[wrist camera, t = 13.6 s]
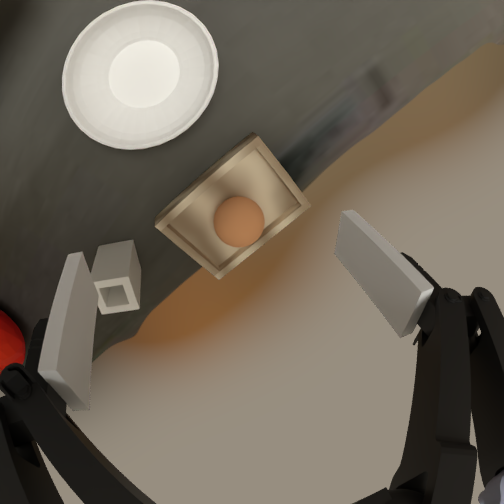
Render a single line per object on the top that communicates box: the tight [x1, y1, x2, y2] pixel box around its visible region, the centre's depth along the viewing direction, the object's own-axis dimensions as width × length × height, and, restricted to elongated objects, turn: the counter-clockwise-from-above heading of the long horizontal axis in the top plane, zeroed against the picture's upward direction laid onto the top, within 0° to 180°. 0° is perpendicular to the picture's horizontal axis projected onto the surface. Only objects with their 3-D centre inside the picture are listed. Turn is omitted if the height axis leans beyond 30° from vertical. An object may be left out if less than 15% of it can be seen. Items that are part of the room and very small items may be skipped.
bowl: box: [62, 0, 219, 150], centre depth 25 cm, size 14×14×8 cm
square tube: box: [91, 240, 141, 314], centre depth 36 cm, size 5×5×8 cm
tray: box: [155, 132, 311, 280], centre depth 38 cm, size 16×12×2 cm
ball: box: [213, 196, 265, 247], centre depth 36 cm, size 6×6×6 cm
